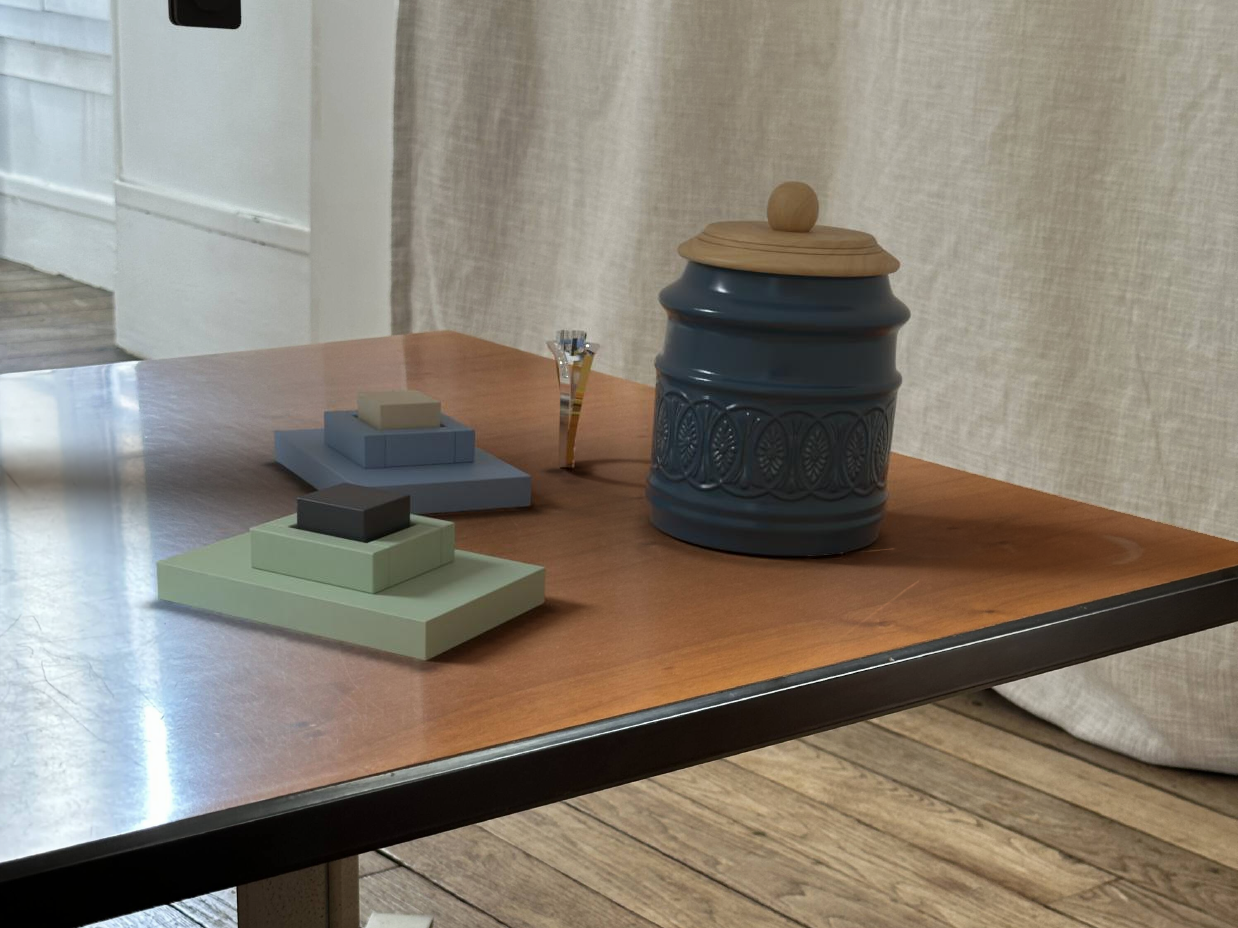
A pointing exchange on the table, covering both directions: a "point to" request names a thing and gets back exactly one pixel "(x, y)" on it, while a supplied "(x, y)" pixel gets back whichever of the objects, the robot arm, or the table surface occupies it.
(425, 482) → the blue stepped base
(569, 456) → the ring
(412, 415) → the key
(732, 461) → the canister
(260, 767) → the table surface
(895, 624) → the table surface
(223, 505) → the table surface
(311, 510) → the key
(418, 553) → the stepped pedestal base
